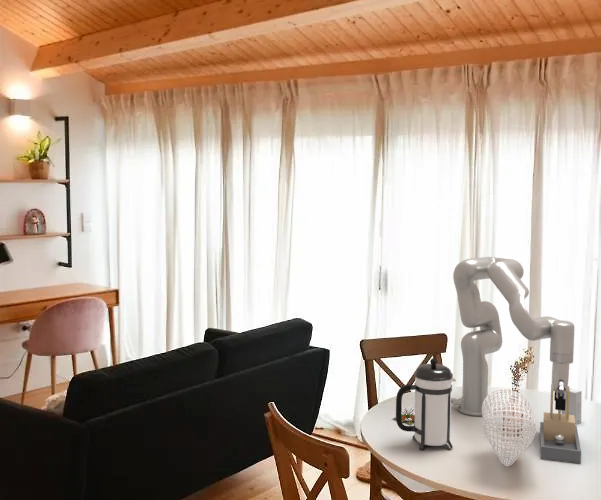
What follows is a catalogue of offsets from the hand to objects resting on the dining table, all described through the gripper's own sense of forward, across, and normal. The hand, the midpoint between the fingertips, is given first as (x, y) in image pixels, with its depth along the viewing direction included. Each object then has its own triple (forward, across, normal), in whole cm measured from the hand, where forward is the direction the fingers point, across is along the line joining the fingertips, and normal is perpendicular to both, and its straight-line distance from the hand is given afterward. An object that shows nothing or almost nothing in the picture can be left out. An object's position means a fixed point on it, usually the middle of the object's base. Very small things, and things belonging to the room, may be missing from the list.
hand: (559, 405), depth 234 cm
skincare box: (+12, -21, +5) cm, 25 cm away
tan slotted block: (+4, 0, 0) cm, 4 cm away
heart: (+12, +28, -16) cm, 35 cm away
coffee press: (+12, +19, -42) cm, 48 cm away
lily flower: (+13, -4, -53) cm, 55 cm away
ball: (+10, +7, 0) cm, 12 cm away
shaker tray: (+12, +7, 0) cm, 14 cm away
